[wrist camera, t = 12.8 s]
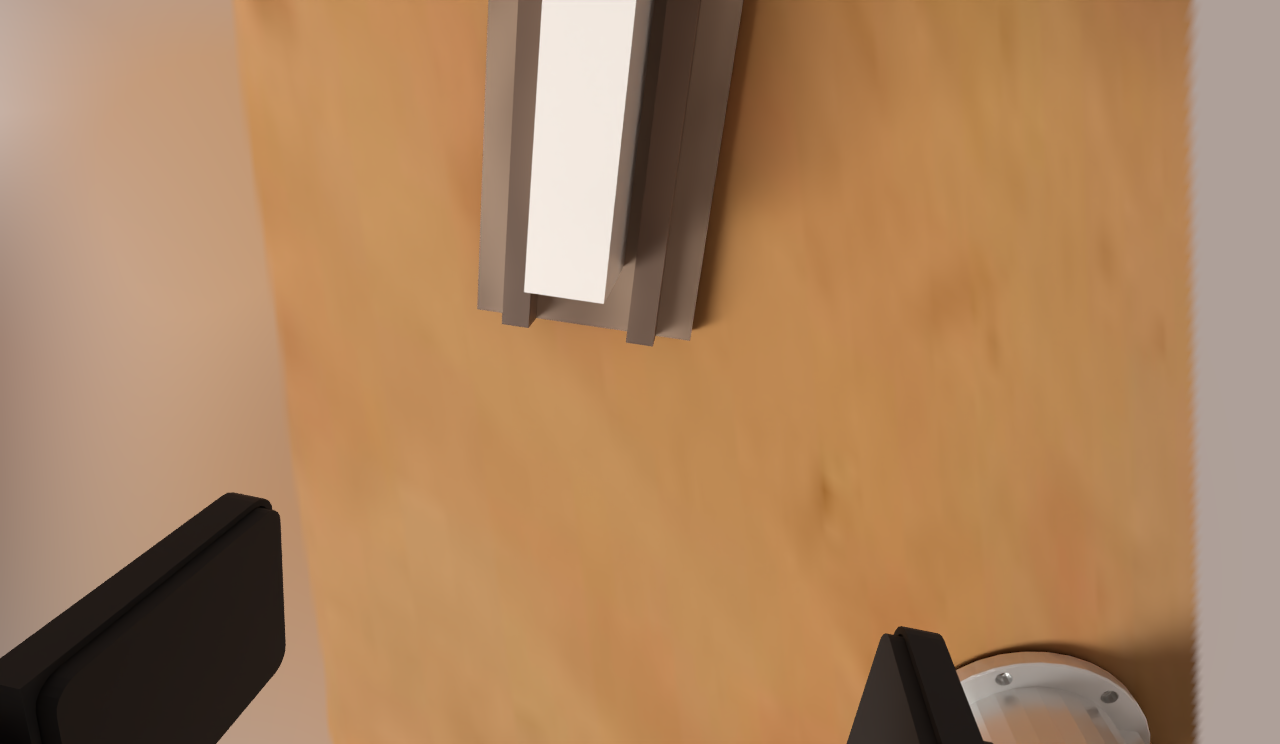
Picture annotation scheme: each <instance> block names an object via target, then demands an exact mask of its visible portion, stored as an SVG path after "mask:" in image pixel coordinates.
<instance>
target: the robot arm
mask: <svg viewBox="0 0 1280 744" xmlns="http://www.w3.org/2000/svg"><path fill="white" fill-rule="evenodd" d="M285 645H286V644H285V622H284V597H283V572H282V550H281V525H280V515H279V514H278V512H276V511H274V510H272V505H271V504H270V502H269V501H268V500H266V499H263V498H258V497H253V496H248V495H243V494H238V493H227V494H225V495H223V496H221V497H220V498H219V499H217V500H216V501H214V502H213V503H212V504H210V505H209V506H208V507H206V508H205V509H203V510H202V511H201V512H199V513H198V514H197V515H195V516H194V517H193V518H191V519H190V520H189V521H187V522H186V523H184V524H183V525H182V526H180V527H179V528H178V529H176V530H175V531H173V532H172V533H171V534H169V535H168V536H167V537H165V538H164V539H163V540H161V541H160V542H158V543H157V544H156V545H154V546H153V547H152V548H150V549H149V550H148V551H146V552H145V553H143V554H142V555H141V556H139V557H138V558H137V559H135V560H134V561H133V562H131V563H130V564H128V565H127V566H126V567H124V568H123V569H122V570H120V571H119V572H118V573H116V574H115V575H114V576H112V577H111V578H109V579H108V580H107V581H105V582H104V583H103V584H101V585H100V586H98V587H97V588H96V589H94V590H93V591H92V592H90V593H89V594H87V595H86V596H85V597H83V598H82V599H81V600H79V601H78V602H77V603H75V604H74V605H72V606H71V607H70V608H69V609H67V610H66V611H64V612H63V613H62V614H60V615H59V616H57V617H56V618H55V619H53V620H52V621H51V622H49V623H48V624H47V625H45V626H44V627H42V628H41V629H40V630H39V631H37V632H36V633H35V634H33V635H32V636H30V637H29V638H27V639H26V640H25V641H23V642H22V643H21V644H19V645H18V646H17V647H15V648H14V649H12V650H11V651H10V652H8V653H7V654H6V655H4V656H3V657H2V658H0V744H216V743H217V742H218V741H219V740H220V739H221V737H222V736H223V735H224V734H225V733H226V731H227V730H228V729H229V727H230V726H231V725H232V724H233V723H234V722H235V721H236V719H237V718H238V717H239V716H240V715H241V713H242V712H243V711H244V710H245V709H246V707H247V706H248V705H249V704H250V703H251V701H252V700H253V699H254V698H255V697H256V695H257V694H258V693H259V692H260V691H261V689H262V688H263V687H264V686H265V685H266V683H267V682H268V681H269V680H270V679H271V677H272V676H273V675H274V674H275V672H276V671H277V670H278V668H279V666H280V664H281V662H282V660H283V657H284V653H285ZM847 744H1150V731H1149V727H1148V723H1147V719H1146V717H1145V715H1144V714H1143V712H1142V710H1141V708H1140V706H1139V705H1138V703H1137V702H1136V700H1135V699H1134V698H1133V696H1132V695H1131V694H1130V692H1129V691H1128V690H1127V688H1126V687H1125V686H1124V685H1123V684H1122V683H1121V682H1120V681H1119V680H1117V679H1116V678H1115V677H1114V676H1113V675H1112V674H1110V673H1109V672H1107V671H1105V670H1104V669H1102V668H1100V667H1098V666H1096V665H1094V664H1092V663H1090V662H1087V661H1084V660H1081V659H1078V658H1075V657H1072V656H1068V655H1062V654H1056V653H1050V652H1016V653H1008V654H1000V655H996V656H992V657H989V658H985V659H981V660H978V661H975V662H973V663H971V664H968V665H966V666H964V667H962V668H959V669H957V670H956V669H955V667H954V664H953V662H952V659H951V657H950V654H949V652H948V649H947V646H946V644H945V641H944V639H943V638H942V636H941V635H940V634H938V633H933V632H928V631H923V630H918V629H913V628H908V627H903V626H900V627H898V628H897V629H896V631H895V633H894V635H891V634H883V636H882V637H881V640H880V642H879V645H878V648H877V651H876V655H875V658H874V661H873V664H872V667H871V670H870V673H869V676H868V679H867V682H866V686H865V689H864V692H863V695H862V698H861V701H860V704H859V707H858V710H857V713H856V716H855V720H854V723H853V726H852V729H851V732H850V735H849V738H848V741H847Z"/></svg>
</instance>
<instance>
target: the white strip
mask: <svg viewBox="0 0 1280 744" xmlns="http://www.w3.org/2000/svg"><path fill="white" fill-rule="evenodd" d="M654 1H655V0H542V12H541V28H540V44H539V60H538V76H537V92H536V108H535V124H534V140H533V156H532V172H531V188H530V204H529V221H528V237H527V253H526V269H525V285H524V292H526V293H533V294H540V295H547V296H553V297H560V298H567V299H574V300H580V301H587V302H594V303H601V304H604V303H605V301H606V299H607V297H608V295H609V293H610V291H611V289H612V288H613V286H614V284H615V282H616V280H617V278H618V276H619V274H620V273H621V271H622V269H623V267H624V260H625V252H626V243H627V234H628V226H629V217H630V208H631V200H632V191H633V182H634V174H635V165H636V156H637V148H638V139H639V130H640V122H641V113H642V104H643V96H644V87H645V79H646V70H647V61H648V53H649V44H650V35H651V27H652V18H653V9H654Z"/></svg>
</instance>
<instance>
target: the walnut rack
mask: <svg viewBox="0 0 1280 744" xmlns="http://www.w3.org/2000/svg"><path fill="white" fill-rule="evenodd" d="M742 6H743V0H655V1H654V9H653V18H652V27H651V35H650V44H649V53H648V61H647V70H646V79H645V87H644V96H643V104H642V113H641V122H640V130H639V139H638V148H637V156H636V165H635V174H634V182H633V191H632V200H631V208H630V217H629V226H628V234H627V243H626V252H625V260H624V267H623V269H622V271H621V273H620V274H619V276H618V278H617V280H616V282H615V284H614V286H613V288H612V289H611V291H610V293H609V295H608V297H607V299H606V301H605V303H604V304H601V303H594V302H587V301H580V300H574V299H567V298H560V297H553V296H547V295H540V294H533V293H526V292H524V285H525V269H526V253H527V237H528V221H529V204H530V188H531V172H532V156H533V140H534V124H535V108H536V92H537V76H538V60H539V44H540V28H541V12H542V0H489V1H488V29H487V57H486V85H485V112H484V140H483V168H482V196H481V224H480V251H479V279H478V307H477V309H480V310H487V311H494V312H500V313H502V324H506V325H512V326H519V327H526V328H529V326H530V325H531V324H532V323H533V321H534V320H535V319H536V318H541V319H547V320H554V321H561V322H568V323H574V324H581V325H588V326H595V327H601V328H608V329H615V330H621V331H627V338H626V343H633V344H640V345H646V346H653V344H654V340H655V336H662V337H669V338H675V339H682V340H689V341H690V337H691V331H692V325H693V318H694V312H695V305H696V299H697V293H698V286H699V280H700V274H701V267H702V261H703V254H704V248H705V242H706V235H707V229H708V223H709V216H710V210H711V203H712V197H713V191H714V184H715V178H716V171H717V165H718V159H719V152H720V146H721V140H722V133H723V127H724V120H725V114H726V108H727V101H728V95H729V89H730V82H731V76H732V69H733V63H734V57H735V50H736V44H737V37H738V31H739V25H740V18H741V12H742Z"/></svg>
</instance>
